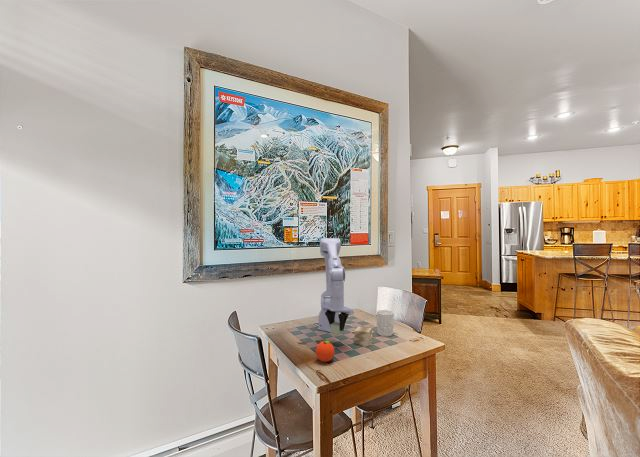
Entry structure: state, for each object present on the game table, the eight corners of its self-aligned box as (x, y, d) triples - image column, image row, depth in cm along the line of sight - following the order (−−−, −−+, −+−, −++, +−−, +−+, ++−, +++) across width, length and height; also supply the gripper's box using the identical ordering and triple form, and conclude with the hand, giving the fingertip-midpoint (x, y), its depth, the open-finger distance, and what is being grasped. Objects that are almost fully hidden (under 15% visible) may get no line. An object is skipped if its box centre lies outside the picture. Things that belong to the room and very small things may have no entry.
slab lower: (353, 344, 124) (353, 337, 124) (360, 339, 129) (360, 332, 129) (366, 347, 120) (366, 339, 120) (373, 342, 125) (373, 335, 125)
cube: (330, 333, 122) (330, 324, 122) (335, 330, 125) (335, 321, 125) (338, 335, 120) (338, 325, 120) (343, 332, 123) (343, 323, 123)
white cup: (394, 337, 130) (394, 315, 130) (376, 336, 132) (376, 314, 132) (393, 331, 138) (393, 310, 138) (376, 330, 140) (376, 309, 140)
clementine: (325, 354, 113) (325, 335, 113) (340, 359, 109) (339, 340, 109) (311, 361, 107) (311, 342, 107) (326, 367, 103) (326, 346, 103)
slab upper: (354, 337, 123) (354, 330, 123) (358, 333, 129) (358, 326, 129) (368, 339, 121) (368, 332, 121) (371, 334, 126) (371, 327, 126)
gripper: (317, 296, 123) (317, 328, 123) (347, 301, 115) (347, 335, 115) (326, 293, 129) (326, 324, 129) (355, 297, 121) (356, 330, 121)
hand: (337, 329), depth 123 cm, fingers closed on cube, 4 cm apart
